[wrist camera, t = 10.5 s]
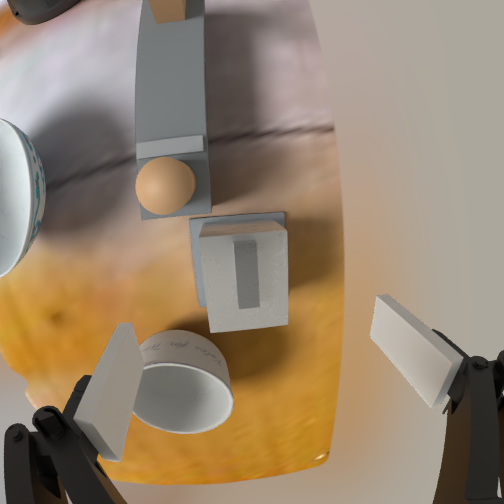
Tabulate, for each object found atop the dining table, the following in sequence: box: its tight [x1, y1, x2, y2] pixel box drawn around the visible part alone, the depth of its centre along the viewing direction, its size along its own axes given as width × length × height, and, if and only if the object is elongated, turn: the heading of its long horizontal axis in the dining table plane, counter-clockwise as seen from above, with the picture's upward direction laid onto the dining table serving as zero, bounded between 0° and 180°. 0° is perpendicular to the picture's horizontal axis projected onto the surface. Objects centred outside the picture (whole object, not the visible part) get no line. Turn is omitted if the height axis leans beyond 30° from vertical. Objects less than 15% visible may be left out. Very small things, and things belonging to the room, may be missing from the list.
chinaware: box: [0, 119, 46, 277], centre depth 18 cm, size 15×15×8 cm
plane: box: [135, 0, 212, 220], centre depth 17 cm, size 21×6×12 cm, turn 3°
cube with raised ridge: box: [199, 218, 288, 333], centre depth 24 cm, size 8×6×7 cm
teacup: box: [132, 330, 234, 434], centre depth 26 cm, size 14×11×8 cm
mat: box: [189, 212, 285, 307], centre depth 27 cm, size 9×9×1 cm
